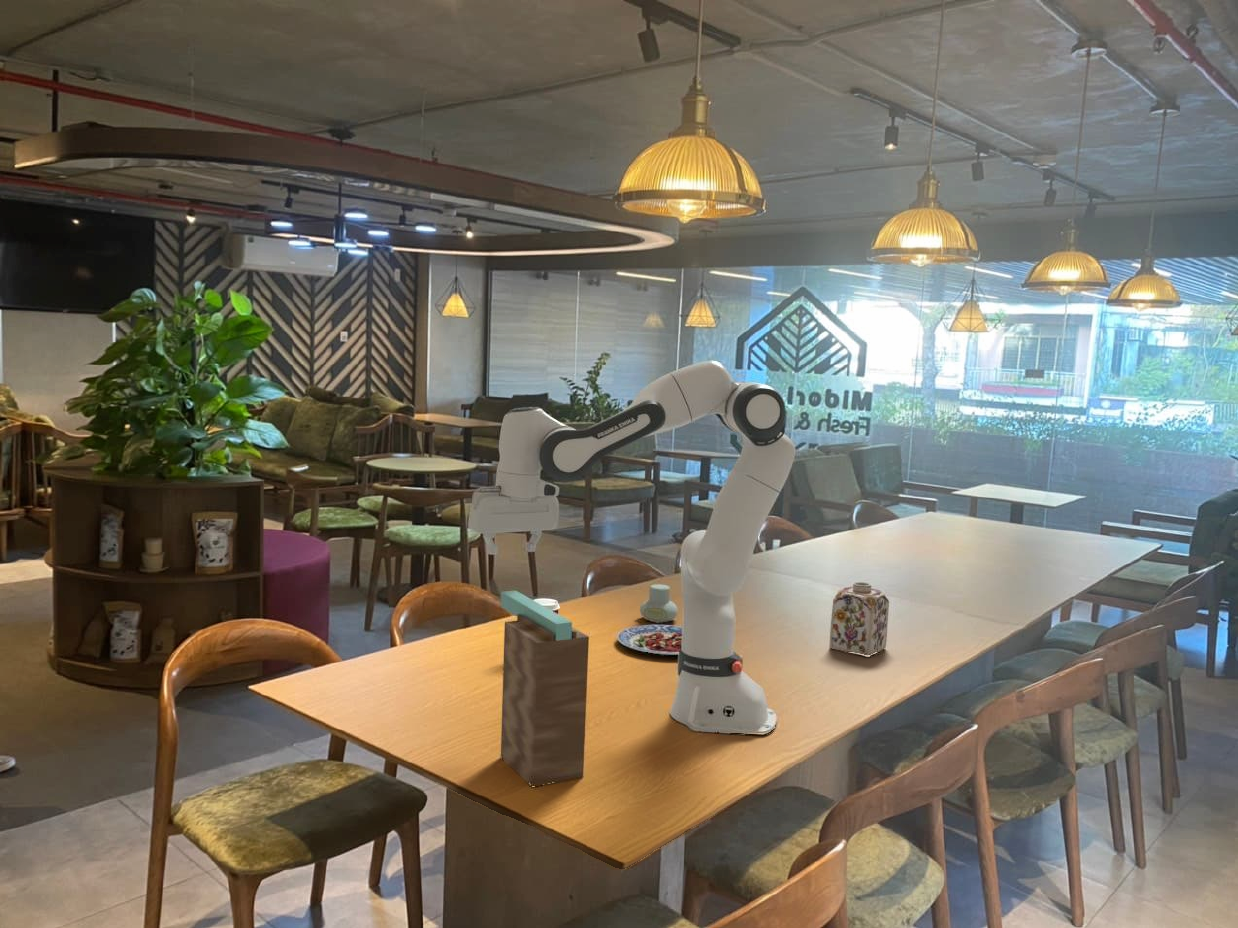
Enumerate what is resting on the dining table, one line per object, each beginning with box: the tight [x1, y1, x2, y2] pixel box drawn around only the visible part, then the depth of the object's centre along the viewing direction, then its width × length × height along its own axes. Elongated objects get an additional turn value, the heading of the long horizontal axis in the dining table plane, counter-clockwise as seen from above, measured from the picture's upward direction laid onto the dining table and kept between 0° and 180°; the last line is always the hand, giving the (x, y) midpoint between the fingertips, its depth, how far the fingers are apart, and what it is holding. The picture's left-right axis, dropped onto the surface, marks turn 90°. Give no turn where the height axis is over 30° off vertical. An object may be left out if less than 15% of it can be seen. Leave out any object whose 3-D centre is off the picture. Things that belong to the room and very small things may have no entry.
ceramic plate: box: [616, 624, 682, 656], centre depth 254 cm, size 26×26×3 cm
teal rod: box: [500, 590, 573, 641], centre depth 178 cm, size 24×3×3 cm, turn 30°
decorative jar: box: [828, 581, 890, 655], centre depth 258 cm, size 12×12×18 cm
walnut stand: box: [500, 614, 590, 786], centre depth 175 cm, size 14×10×27 cm
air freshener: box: [639, 583, 679, 624], centre depth 278 cm, size 11×8×10 cm
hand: (511, 552), depth 197 cm, fingers open, 8 cm apart
